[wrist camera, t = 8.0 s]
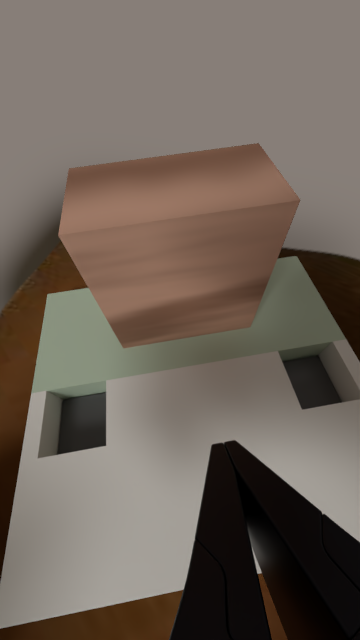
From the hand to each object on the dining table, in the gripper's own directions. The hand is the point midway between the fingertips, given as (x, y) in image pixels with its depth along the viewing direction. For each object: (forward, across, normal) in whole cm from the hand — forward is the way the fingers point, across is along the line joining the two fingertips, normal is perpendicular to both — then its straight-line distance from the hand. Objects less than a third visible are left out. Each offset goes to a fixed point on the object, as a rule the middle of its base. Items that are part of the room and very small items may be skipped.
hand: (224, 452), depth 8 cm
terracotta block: (+12, 0, -3) cm, 12 cm away
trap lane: (+10, 0, +3) cm, 10 cm away
